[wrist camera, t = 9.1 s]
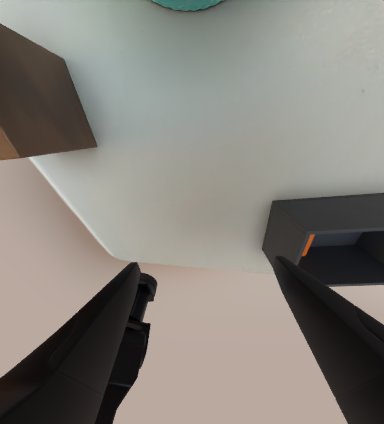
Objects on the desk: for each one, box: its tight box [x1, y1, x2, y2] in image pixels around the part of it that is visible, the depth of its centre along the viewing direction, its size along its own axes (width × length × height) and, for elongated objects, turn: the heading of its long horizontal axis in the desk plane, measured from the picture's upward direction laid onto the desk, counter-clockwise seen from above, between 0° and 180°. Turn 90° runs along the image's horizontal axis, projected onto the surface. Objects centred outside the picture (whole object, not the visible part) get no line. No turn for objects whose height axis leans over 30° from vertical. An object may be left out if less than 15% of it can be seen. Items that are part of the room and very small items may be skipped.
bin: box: [262, 193, 384, 287], centre depth 20 cm, size 10×16×8 cm, turn 95°
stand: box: [0, 24, 97, 160], centre depth 12 cm, size 8×6×9 cm
